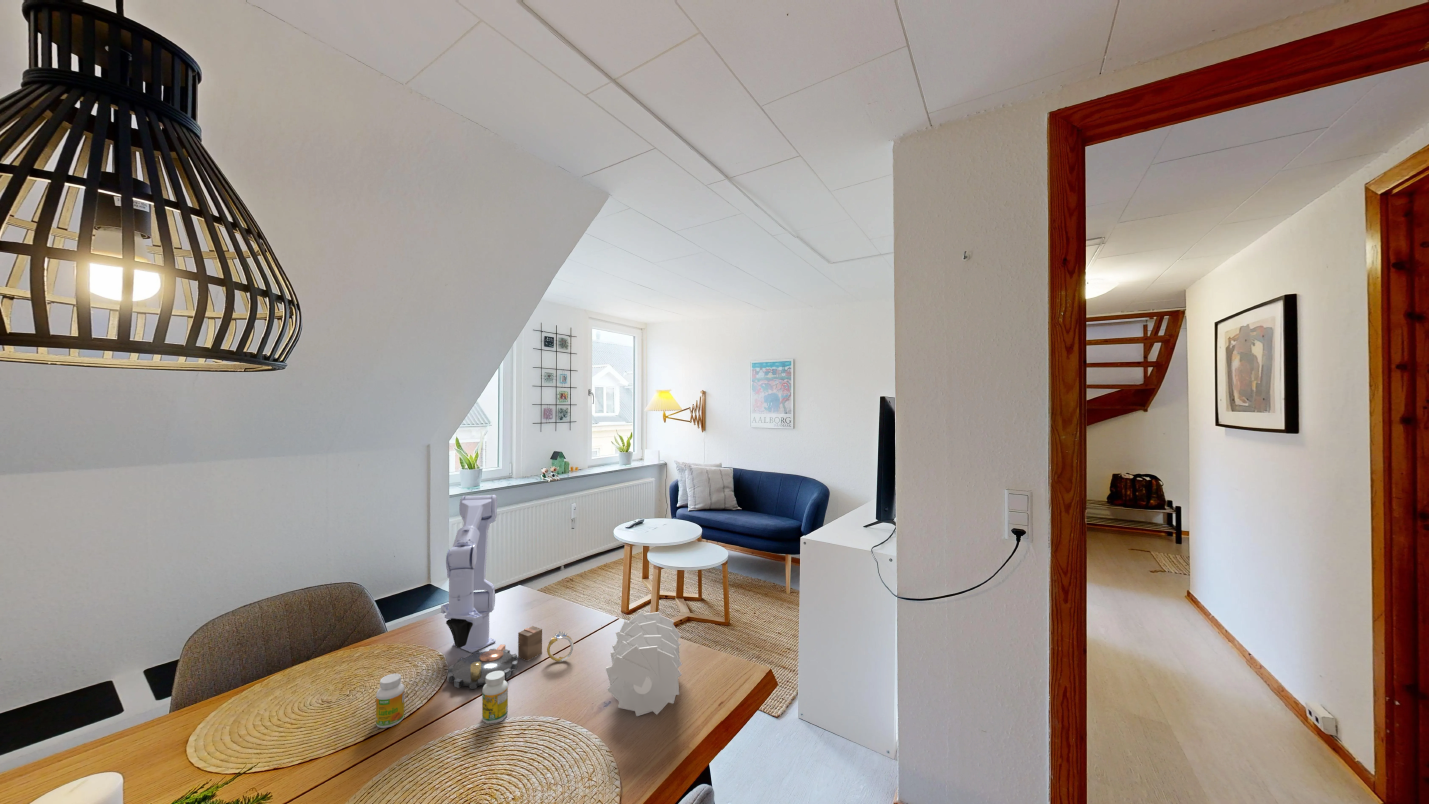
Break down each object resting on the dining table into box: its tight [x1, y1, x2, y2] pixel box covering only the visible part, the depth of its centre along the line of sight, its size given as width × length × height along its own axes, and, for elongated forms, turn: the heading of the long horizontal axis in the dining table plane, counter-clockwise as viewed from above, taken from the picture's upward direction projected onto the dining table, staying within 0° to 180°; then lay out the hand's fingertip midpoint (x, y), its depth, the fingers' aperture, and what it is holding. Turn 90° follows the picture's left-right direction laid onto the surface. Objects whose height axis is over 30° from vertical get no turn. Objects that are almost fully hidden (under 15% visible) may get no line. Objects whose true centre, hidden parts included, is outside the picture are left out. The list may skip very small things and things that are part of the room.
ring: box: [546, 630, 575, 663], centre depth 138 cm, size 7×3×8 cm, turn 98°
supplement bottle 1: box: [375, 673, 405, 729], centre depth 112 cm, size 5×5×10 cm
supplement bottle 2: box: [481, 671, 509, 724], centre depth 114 cm, size 5×5×10 cm
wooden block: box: [517, 625, 543, 662], centre depth 142 cm, size 4×5×7 cm
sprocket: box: [446, 648, 519, 690], centre depth 132 cm, size 17×17×5 cm
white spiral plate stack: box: [605, 611, 683, 717], centre depth 123 cm, size 18×18×25 cm
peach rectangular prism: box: [495, 644, 506, 651], centre depth 142 cm, size 3×1×2 cm, turn 0°
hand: (460, 645), depth 128 cm, fingers closed
